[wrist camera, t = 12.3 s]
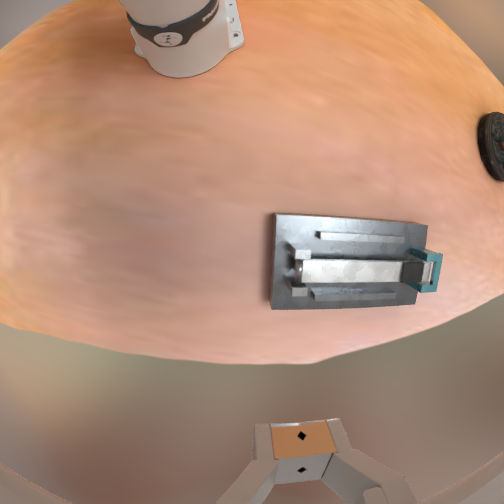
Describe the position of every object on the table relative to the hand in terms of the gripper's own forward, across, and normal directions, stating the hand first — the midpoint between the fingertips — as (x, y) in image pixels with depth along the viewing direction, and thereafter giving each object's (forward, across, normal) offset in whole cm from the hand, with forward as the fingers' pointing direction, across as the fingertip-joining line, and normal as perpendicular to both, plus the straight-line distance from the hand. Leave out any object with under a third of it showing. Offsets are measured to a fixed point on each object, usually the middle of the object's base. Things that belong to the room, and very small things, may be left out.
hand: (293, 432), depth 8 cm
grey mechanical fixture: (+35, -16, +2) cm, 39 cm away
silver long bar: (+29, -17, +2) cm, 33 cm away
